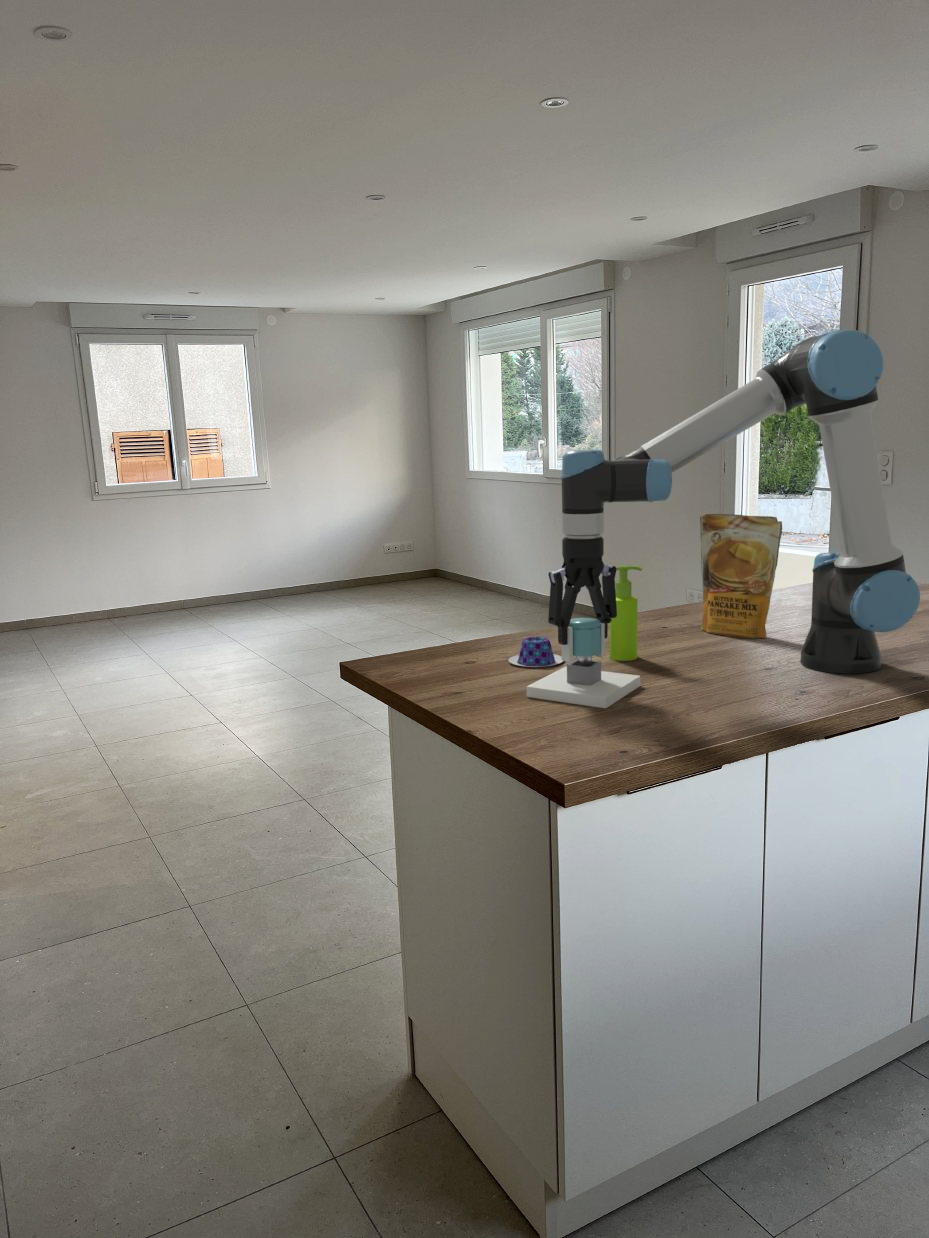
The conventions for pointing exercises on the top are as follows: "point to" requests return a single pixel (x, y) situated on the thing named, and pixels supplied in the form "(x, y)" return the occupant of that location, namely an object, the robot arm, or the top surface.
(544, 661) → the patterned brimmed hat
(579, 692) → the post base
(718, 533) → the pancake mix bag
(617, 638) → the soap dispenser
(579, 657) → the post
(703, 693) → the top surface
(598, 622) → the cap
